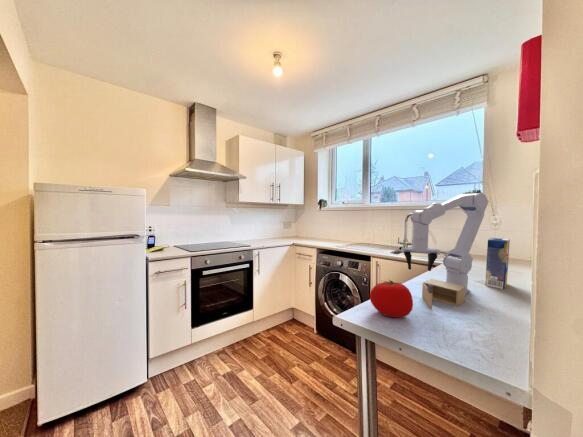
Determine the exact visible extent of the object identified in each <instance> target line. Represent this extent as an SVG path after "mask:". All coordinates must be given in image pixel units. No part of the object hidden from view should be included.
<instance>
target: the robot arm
mask: <svg viewBox="0 0 583 437" xmlns="http://www.w3.org/2000/svg"><path fill="white" fill-rule="evenodd" d="M489 202H490V201H489V200H488V198H487V195H486V194H485V193H483V192H478V193H460V194H458V195H455V197H452V198H450V199H449V200H447V201H445V202H442V203H440V202H432V203H431V205H429V206H427V207H422V209H421V210H414V211H413V213H412V215H411V216H410V220H411V222H412V227H413V229H412V230H413V231H412V247H408V246H407V247H403V246H402V247H401V250H400V251H401V253H403V255H404V256H405V259H406V263H407V267H408V270H411V269H412V254H427V258H428V259H427V271H429V272H431V271H432V268H433V265H434V262H435V261H436V260H437V258H438V255H440V254H441V250H440V249H439V248H438V249H437V248H428V247H429V228H430V227H429V226H430V224H431V223H432V222H433V220H436V219H437V218H440V217H442V216H444V215H445V214H446V211H449V210H452V209H454V208H457V207H459V208H460V209H461V210H462V212H464V214H466V216H467V217H466V220H465V221H464V224H463V227H462V229H461V231H460V234H459V237H458V239H457V241H456V244H455V246H454V247H453V248H452V249H450V250H449V251H448V252H447V254H446V255H445V256H444V257H443V259H442V265H443V266H444V267H445V270H446V281H445V282H448V283H452V284H457V285H461V286H465V295H466V294H467V293H469V292H470V291H471V290H470V289H469V288H468V284H469V283H468V282H469V276H468V274H469V272H470V271H471V270H472V267H473V266H472V265H473V260H474V258H473V256H472V255H471V254H470V251H471V249H472V247H473V244H474V242H475V239H476V237H477V234H478V232H479V229H480V227H481V224H482V221H483V219H484V216H485V211H486V209H487V207H488V203H489Z"/></svg>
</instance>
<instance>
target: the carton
mask: <svg viewBox="0 0 583 437" xmlns="http://www.w3.org/2000/svg"><path fill="white" fill-rule="evenodd" d="M423 283H424V284H425V285H426V286H427V284H431V285H432V286H433V294H432V300H435V301H438V302H441V303H444V304H448V305H452V306H456V307H459V306H460V305H462V304H463V303H464V302H466V294H465V286H461V285H457V284H452V283H448V282H446V281H443V280H438V279H434V278H430V279H427V280H426V281H424V282H422V284H423Z"/></svg>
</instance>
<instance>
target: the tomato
mask: <svg viewBox="0 0 583 437" xmlns="http://www.w3.org/2000/svg"><path fill="white" fill-rule="evenodd" d="M369 301H370V303H371V305H372V306H373V308H374V309H375V310H376V311H377V312H378V313H380V314H382V315H383V316H388V317H390V318H391V317H392V318H405V317H406V316H409V315H410V313H411V312H412V310H413V307H414V303H413V302H414V301H413V296H412V292H411V291H410V289H409V288H408V287H407V286H406V285H404V284H402V283H401V282H394V281H393V280H390V279H388V281H386V280H383V281H382V282H380V283H378V284H376V285H375V286H374V287H373V288H372V289H371V290H370V293H369Z"/></svg>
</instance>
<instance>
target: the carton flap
mask: <svg viewBox="0 0 583 437" xmlns="http://www.w3.org/2000/svg"><path fill="white" fill-rule="evenodd" d="M421 288H422V291H421V293H422V294H421V297H422V298H423V300H424V302H425V303H426V304H427V306H428V307H429V309H430V310H431V309H432V310H433V299H432V294H433V286H432V285H431V284H427V286H426V285H425V284H424V283H423V282H422V287H421Z"/></svg>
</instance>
